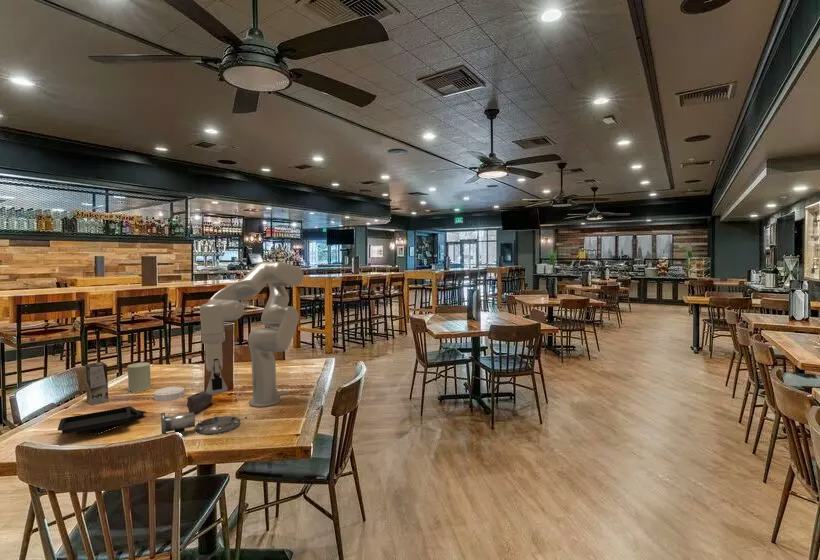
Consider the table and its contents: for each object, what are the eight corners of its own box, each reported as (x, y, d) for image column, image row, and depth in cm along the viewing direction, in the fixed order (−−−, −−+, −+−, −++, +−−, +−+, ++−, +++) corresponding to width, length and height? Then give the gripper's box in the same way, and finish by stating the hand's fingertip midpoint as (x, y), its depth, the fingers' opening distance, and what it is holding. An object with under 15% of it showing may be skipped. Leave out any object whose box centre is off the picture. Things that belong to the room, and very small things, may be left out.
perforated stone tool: (206, 402, 183) (205, 386, 183) (217, 402, 183) (217, 386, 182) (182, 415, 169) (182, 397, 168) (195, 415, 168) (194, 398, 167)
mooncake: (157, 394, 195) (157, 387, 195) (187, 392, 199) (186, 384, 198) (150, 403, 183) (150, 395, 183) (182, 400, 187) (181, 392, 187)
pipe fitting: (237, 415, 167) (236, 395, 166) (243, 429, 154) (242, 406, 153) (162, 429, 154) (161, 407, 154) (162, 445, 141) (160, 420, 141)
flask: (231, 389, 159) (230, 362, 158) (219, 395, 152) (217, 368, 151) (214, 388, 160) (212, 361, 159) (201, 394, 153) (199, 367, 152)
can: (123, 390, 201) (122, 365, 200) (142, 385, 209) (141, 360, 209) (137, 392, 197) (136, 367, 197) (155, 387, 206) (154, 362, 205)
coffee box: (109, 401, 186) (107, 364, 185) (91, 405, 181) (89, 367, 180) (104, 397, 192) (102, 361, 191) (86, 400, 187) (84, 364, 186)
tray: (113, 411, 174) (112, 399, 173) (163, 414, 169) (163, 401, 169) (36, 443, 144) (35, 428, 144) (95, 448, 140) (94, 432, 140)
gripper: (200, 334, 160) (203, 382, 162) (203, 343, 145) (207, 396, 147) (222, 332, 164) (225, 378, 165) (227, 340, 149) (230, 391, 150)
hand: (216, 386), depth 156 cm, fingers closed on flask, 5 cm apart
